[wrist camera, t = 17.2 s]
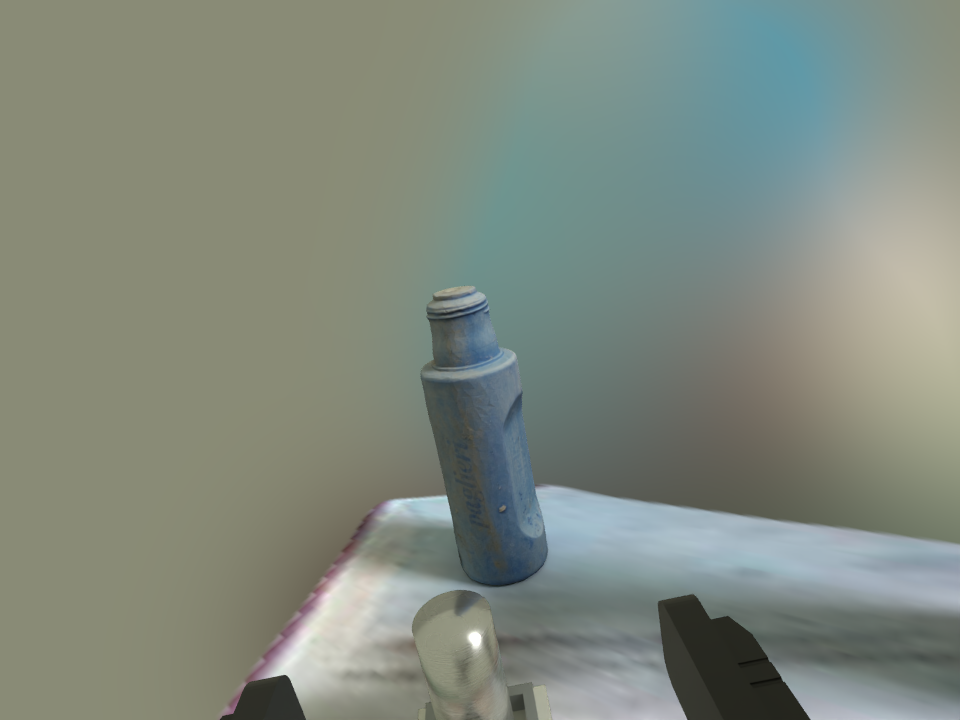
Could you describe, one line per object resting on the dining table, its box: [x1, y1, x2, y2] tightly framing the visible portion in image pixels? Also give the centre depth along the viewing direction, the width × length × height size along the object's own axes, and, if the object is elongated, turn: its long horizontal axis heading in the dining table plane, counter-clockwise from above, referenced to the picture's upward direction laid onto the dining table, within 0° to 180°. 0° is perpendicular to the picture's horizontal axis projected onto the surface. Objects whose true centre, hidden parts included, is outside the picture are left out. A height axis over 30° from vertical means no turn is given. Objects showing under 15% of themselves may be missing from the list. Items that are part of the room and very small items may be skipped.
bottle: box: [421, 286, 548, 585], centre depth 55 cm, size 10×10×30 cm
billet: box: [412, 590, 514, 720], centre depth 35 cm, size 5×5×12 cm
